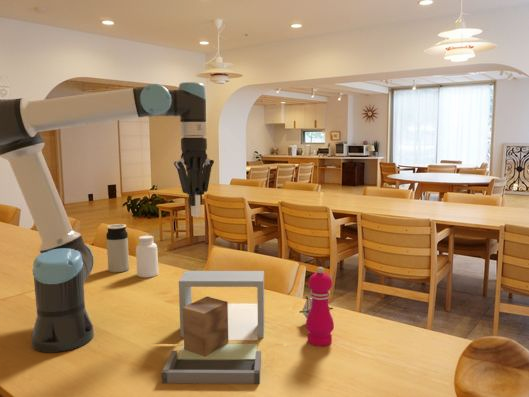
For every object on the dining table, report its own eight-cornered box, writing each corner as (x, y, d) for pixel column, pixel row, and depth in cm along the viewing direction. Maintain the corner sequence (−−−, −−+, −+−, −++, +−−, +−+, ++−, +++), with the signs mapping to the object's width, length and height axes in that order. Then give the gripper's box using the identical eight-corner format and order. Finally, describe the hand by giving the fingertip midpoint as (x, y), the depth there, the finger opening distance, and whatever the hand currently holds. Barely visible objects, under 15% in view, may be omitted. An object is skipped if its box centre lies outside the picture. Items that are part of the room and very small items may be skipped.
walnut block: (207, 335, 124) (206, 296, 122) (228, 342, 120) (227, 301, 118) (184, 349, 117) (182, 307, 115) (205, 356, 113) (204, 313, 111)
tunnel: (196, 305, 148) (194, 256, 145) (265, 305, 147) (265, 256, 145) (179, 341, 122) (177, 283, 120) (263, 342, 121) (262, 283, 119)
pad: (186, 338, 124) (186, 336, 124) (257, 338, 123) (257, 337, 123) (177, 360, 112) (177, 358, 112) (256, 361, 112) (255, 359, 111)
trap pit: (172, 360, 112) (171, 350, 112) (261, 360, 112) (260, 351, 111) (162, 383, 102) (161, 372, 102) (259, 383, 101) (259, 373, 101)
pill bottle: (132, 276, 177) (130, 238, 175) (145, 270, 185) (144, 233, 182) (150, 279, 174) (148, 239, 172) (162, 273, 182) (161, 235, 180)
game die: (321, 338, 132) (331, 319, 125) (293, 325, 133) (301, 306, 127) (329, 313, 139) (339, 294, 132) (302, 301, 140) (311, 282, 133)
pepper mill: (315, 349, 117) (316, 272, 114) (300, 338, 124) (300, 265, 121) (339, 343, 120) (340, 268, 118) (323, 332, 127) (324, 261, 124)
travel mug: (133, 269, 187) (131, 225, 185) (117, 274, 181) (115, 228, 178) (120, 266, 192) (117, 223, 189) (104, 270, 185) (101, 226, 182)
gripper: (182, 137, 129) (184, 220, 133) (219, 136, 138) (220, 215, 141) (167, 137, 135) (170, 217, 138) (204, 136, 143) (206, 212, 147)
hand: (195, 216), depth 140 cm, fingers closed
